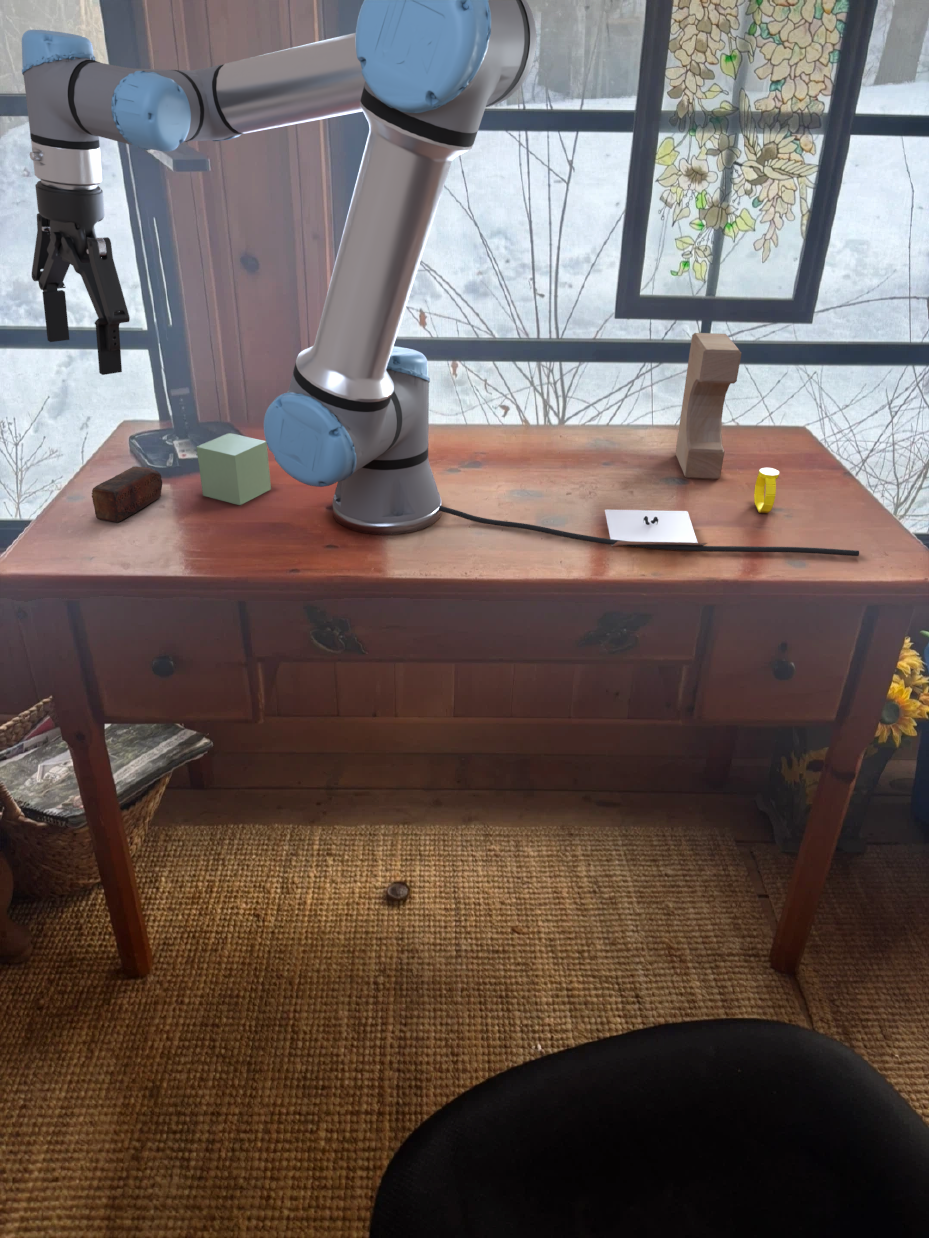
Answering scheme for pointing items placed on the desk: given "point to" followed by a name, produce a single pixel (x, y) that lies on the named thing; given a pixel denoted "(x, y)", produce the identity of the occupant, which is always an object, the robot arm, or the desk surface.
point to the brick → (126, 493)
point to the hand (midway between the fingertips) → (83, 356)
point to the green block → (234, 468)
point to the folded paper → (651, 527)
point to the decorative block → (705, 404)
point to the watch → (768, 478)
